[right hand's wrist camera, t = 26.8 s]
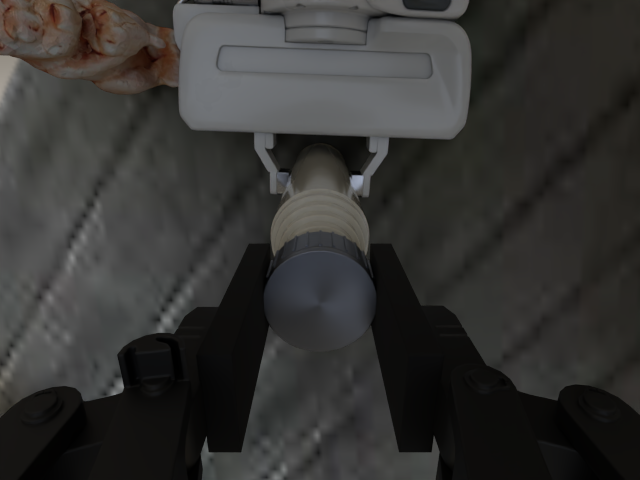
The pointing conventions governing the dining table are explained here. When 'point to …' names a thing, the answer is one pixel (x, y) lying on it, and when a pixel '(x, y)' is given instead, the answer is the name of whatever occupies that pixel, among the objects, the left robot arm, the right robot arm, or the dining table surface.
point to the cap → (320, 292)
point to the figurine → (90, 43)
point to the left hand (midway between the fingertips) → (320, 194)
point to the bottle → (319, 200)
